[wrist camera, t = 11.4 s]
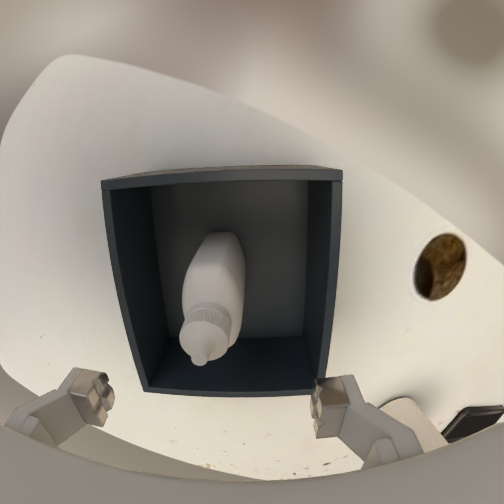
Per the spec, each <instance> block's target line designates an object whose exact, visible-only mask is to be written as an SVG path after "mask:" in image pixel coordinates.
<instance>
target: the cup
mask: <svg viewBox="0 0 504 504" xmlns="http://www.w3.org/2000/svg"><path fill="white" fill-rule="evenodd" d="M380 410H381V411H383V412H385V413H386V414H388V415H389V416H391V417H393V418H394V419H396V420H398V421H399V422H401V423H402V424H404V425H406V426H407V427H409V428H411V429H412V430H414V432H415V434H416V436H417V438H418V440H419V443H420V445H421V447H422V449H423V451H424V453H426V452H429V451H432V450H435V449H437V448H440V447H443V446H445V445H448V442H447V441H446V440H445V439H444V437H443V436H442V435H441V434H440V432H439V431H438V430H437V429H436V427H435V426H434V425H433V424H432V422H431V421H430V420H429V419H428V418H427V416H426V415H425V414H424V413H423V411H422V410H421V409H420V408H419V407H418V405H417V404H416V403H415V402H414V400H413V399H410V398H399V399H396V400H394V401H391V402H389V403H387V404H386V405H384V406H383V407H381V408H380Z"/></svg>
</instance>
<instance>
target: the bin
mask: <svg viewBox="0 0 504 504" xmlns="http://www.w3.org/2000/svg"><path fill="white" fill-rule="evenodd" d="M342 180H343V171H342V170H339V169H333V168H327V167H320V166H310V165H259V166H226V167H205V168H189V169H175V170H163V171H152V172H144V173H138V174H132V175H127V176H122V177H117V178H112V179H107V180H102V181H101V190H102V200H103V209H104V218H105V226H106V233H107V240H108V247H109V253H110V259H111V265H112V270H113V276H114V281H115V286H116V291H117V296H118V300H119V305H120V309H121V313H122V318H123V322H124V326H125V330H126V334H127V337H128V341H129V345H130V348H131V352H132V356H133V359H134V362H135V366H136V369H137V372H138V375H139V379H140V382H141V385H142V388H143V391H144V392H151V393H160V394H172V395H185V396H203V397H279V396H297V395H311V394H312V393H313V388H312V384H313V380H314V379H318V378H325V375H326V369H327V362H328V356H329V349H330V341H331V334H332V326H333V317H334V308H335V299H336V288H337V277H338V265H339V251H340V235H341V214H342ZM227 231H229V232H233V233H234V234H235V235H236V237H237V238H238V240H239V242H240V245H241V247H242V250H243V253H244V258H245V265H246V276H245V290H244V303H243V316H242V324H241V329H240V332H239V335H238V337H237V340H236V341H235V343H234V344H233V345H232V346H231V347H228V349H227V351H226V353H225V354H223V356H221V357H220V358H218V359H215V360H211V361H207V363H206V364H205V365H203V366H198V365H195V364H194V363H193V362H192V360H191V356H190V355H189V354H187V353H186V352H185V351H184V349H183V348H182V347H181V343H180V340H179V335H180V331H181V328H182V326H183V323H184V321H185V318H184V314H183V308H182V291H183V284H184V280H185V276H186V273H187V270H188V267H189V265H190V263H191V261H192V260H193V258H194V256H195V254H196V252H197V251H198V249H199V247H200V246H201V244H202V242H203V240H204V239H205V237H206V236H207V235H208V234H209V233H213V232H227Z"/></svg>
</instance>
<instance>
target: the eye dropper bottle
mask: <svg viewBox="0 0 504 504" xmlns="http://www.w3.org/2000/svg"><path fill="white" fill-rule="evenodd" d="M245 276H246V265H245V258H244V253H243V250H242V247H241V245H240V242H239V240H238V238H237V237H236V235H235V234H234V233H233V232H229V231H227V232H213V233H209V234H208V235H207V236H206V237H205V239H204V240H203V242H202V244H201V246H200V247H199V249H198V251H197V252H196V254H195V256H194V258H193V260H192V261H191V263H190V265H189V267H188V270H187V273H186V276H185V280H184V284H183V291H182V308H183V314H184V318H185V321H184V323H183V326H182V328H181V331H180V335H179V340H180V343H181V347H182V348H183V349H184V351H185V352H186V353H187V354H189V355H190V356H191V360H192V362H193V363H194V364H195V365H198V366H203V365H205V364H206V363H207V361H211V360H215V359H218V358H220V357H221V356H223V354H225V353H226V351H227V349H228V347H231V346H232V345H233V344H234V343H235V341H236V340H237V337H238V335H239V332H240V329H241V324H242V316H243V303H244V290H245Z"/></svg>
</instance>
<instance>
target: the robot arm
mask: <svg viewBox="0 0 504 504" xmlns="http://www.w3.org/2000/svg"><path fill="white" fill-rule="evenodd" d="M108 381H109V379H108V376H107V374H106V373H104V372H98V371H93V370H88V369H81V368H77V367H75V368H73V369H72V370H71V371H70V373H69V374H68V375H67V377H66V378H65V380H64V381H63V382H62V384H61V385H60V387H59V388H58V390H55V389H54V390H52V391H50V392H48V393H46V394H44V395H42V396H40V397H38V398H36V399H34V400H32V401H30V402H28V403H26V404H24V405H22V406H20V407H18V408H16V409H15V410H14V412H13V413H12V414H11V416H10V417H9V419H8V420H7V421H6V423H5V424H4V425H2V424H0V504H504V423H496V424H494V425H492V426H489V427H487V428H485V429H483V430H481V431H479V432H477V433H474V434H472V435H470V436H468V437H465V438H463V439H461V440H458V441H456V442H453V443H451V444H448V445H445V446H443V447H440V448H437V449H435V450H432V451H429V452H426V453H424V451H423V449H422V447H421V445H420V443H419V440H418V438H417V436H416V434H415V432H414V430H412V429H411V428H409V427H407V426H406V425H404V424H402V423H401V422H399V421H398V420H396V419H394V418H393V417H391V416H389V415H388V414H386V413H385V412H383V411H381V410H380V409H378V408H377V407H375V406H373V405H372V404H370V403H365V401H364V399H363V396H362V394H361V392H360V389H359V387H358V384H357V382H356V380H355V377H354V376H353V375H344V376H337V377H328V378H318V379H314V380H313V384H312V388H313V393H312V394H311V399H310V409H311V416H312V418H314V419H315V420H314V430H315V435H316V439H317V438H328V437H337V436H338V438H339V439H340V440H341V441H343V442H344V443H345V444H346V445H347V446H348V447H349V448H350V449H351V450H352V451H353V452H354V453H355V454H357V455H358V456H359V457H360V458H361V459H362V460H363V461H364V464H363V466H362V468H361V470H357V471H351V472H346V473H340V474H333V475H327V476H319V477H310V478H300V479H288V480H270V481H223V480H206V479H194V478H184V477H175V476H168V475H161V474H155V473H149V472H143V471H138V470H133V469H128V468H124V467H119V466H114V465H111V464H106V463H103V462H99V461H95V460H92V459H89V458H85V457H82V456H78V455H75V454H72V453H69V452H66V451H63V450H61V449H60V448H59V447H58V446H59V445H60V444H61V443H62V442H64V441H65V440H67V439H68V438H69V437H70V436H72V435H73V434H74V433H76V432H77V431H78V430H80V429H81V428H82V427H84V426H85V425H86V424H90V425H95V426H100V427H103V426H104V424H105V422H106V419H107V417H108V414H107V411H109V410H110V409H112V407H113V405H114V399H115V396H114V391H113V389H112V387H111V386H110V385H109V384H108Z"/></svg>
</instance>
